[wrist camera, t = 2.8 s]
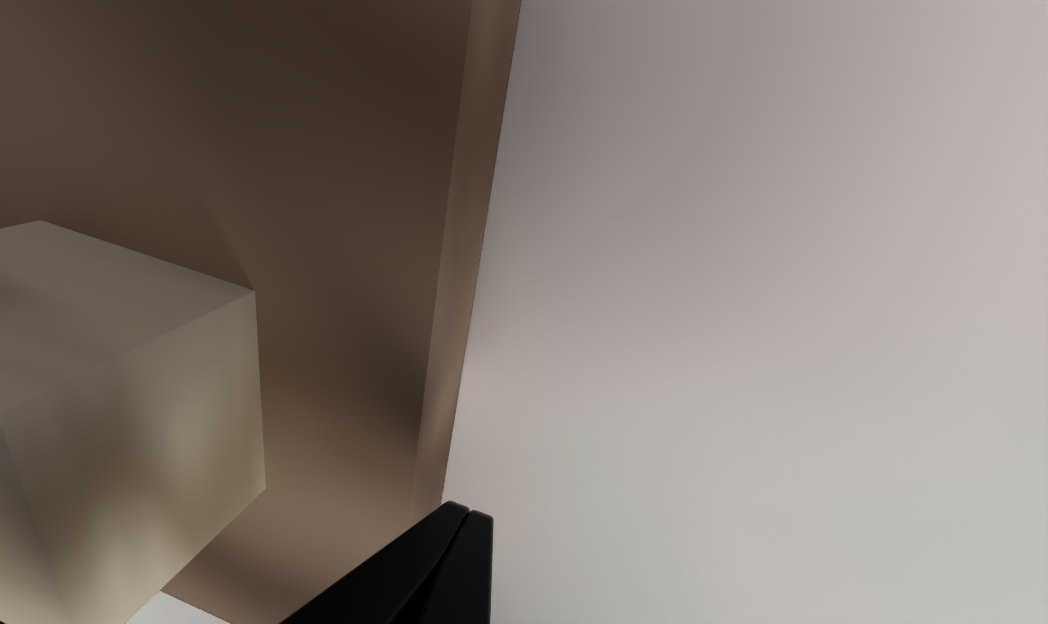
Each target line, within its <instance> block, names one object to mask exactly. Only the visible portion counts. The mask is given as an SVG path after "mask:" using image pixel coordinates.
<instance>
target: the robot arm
mask: <svg viewBox="0 0 1048 624" xmlns="http://www.w3.org/2000/svg"><path fill="white" fill-rule="evenodd" d="M492 554H493V518H492V516H490V515H487V514H485V513H482V512H479V511H477V510H472V511H470V509H469V508H468V507H466V506H464V505H461V504H458V503H456V502H453V501H447V502H445V503H444V504H443V505H441V506H440V507H438V508H437V509H436V510H434V511H433V512H431V513H430V514H429V515H427V516H426V517H425V518H423V519H422V520H420V521H419V522H418V523H416V524H415V525H414V526H412V527H411V528H409V529H408V530H407V531H405V532H404V533H403V534H401V535H400V536H398V537H397V538H396V539H394V540H393V541H391V542H390V543H389V544H387V545H386V546H385V547H383V548H382V549H380V550H379V551H378V552H376V553H375V554H374V555H372V556H371V557H369V558H368V559H367V560H365V561H364V562H363V563H361V564H360V565H358V566H357V567H356V568H354V569H353V570H351V571H350V572H349V573H347V574H346V575H345V576H343V577H342V578H340V579H339V580H338V581H336V582H335V583H334V584H332V585H331V586H329V587H328V588H327V589H325V590H324V591H323V592H321V593H320V594H318V595H317V596H316V597H314V598H313V599H311V600H310V601H309V602H307V603H306V604H305V605H303V606H302V607H300V608H299V609H298V610H296V611H295V612H294V613H292V614H291V615H289V616H288V617H287V618H285V619H284V620H282V621H281V622H280V623H278V624H490V616H491V585H492ZM0 624H6V623H4V622H2V621H0Z"/></svg>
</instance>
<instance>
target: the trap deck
mask: <svg viewBox="0 0 1048 624" xmlns="http://www.w3.org/2000/svg"><path fill="white" fill-rule="evenodd" d="M520 5H521V0H0V229H1V228H6V227H10V226H15V225H20V224H25V223H29V222H34V221H39V220H42V221H45V222H48V223H51V224H54V225H57V226H60V227H63V228H66V229H69V230H72V231H75V232H78V233H81V234H85V235H88V236H91V237H94V238H97V239H100V240H103V241H106V242H109V243H112V244H115V245H118V246H121V247H124V248H127V249H130V250H133V251H136V252H139V253H142V254H145V255H148V256H151V257H154V258H157V259H160V260H163V261H166V262H169V263H173V264H176V265H179V266H182V267H185V268H188V269H191V270H194V271H197V272H200V273H203V274H206V275H209V276H212V277H215V278H218V279H221V280H224V281H227V282H230V283H233V284H236V285H239V286H242V287H245V288H248V289H251V290H254V291H255V301H256V319H257V337H258V356H259V374H260V392H261V410H262V428H263V447H264V465H265V483H266V489H264V490H263V491H262V492H261V493H260V494H259V495H258V496H257V497H256V498H255V499H254V500H253V501H252V502H251V503H250V504H249V505H248V506H247V507H246V508H245V509H244V510H243V511H242V512H241V513H240V514H239V515H237V516H236V517H235V518H234V519H233V520H232V521H231V522H230V523H229V524H228V525H227V526H226V527H225V528H224V529H223V530H222V531H221V532H220V533H219V534H218V535H217V536H216V537H215V538H214V539H213V540H211V541H210V542H209V543H208V544H207V545H206V546H205V547H204V548H203V549H202V550H201V551H200V552H199V553H198V554H197V555H196V556H195V557H194V558H193V559H192V560H191V561H190V562H189V563H188V564H187V565H185V566H184V567H183V568H182V569H181V570H180V571H179V572H178V573H177V574H176V575H175V576H174V577H173V578H172V579H171V580H170V581H169V582H168V583H167V584H166V585H165V586H164V587H163V588H162V589H161V590H160V591H162V592H164V593H166V594H168V595H170V596H173V597H175V598H177V599H179V600H181V601H183V602H186V603H188V604H190V605H192V606H194V607H196V608H198V609H201V610H203V611H205V612H207V613H209V614H211V615H214V616H216V617H218V618H220V619H222V620H224V621H226V622H229V623H231V624H278V623H280V622H281V621H282V620H284V619H285V618H287V617H288V616H289V615H291V614H292V613H294V612H295V611H296V610H298V609H299V608H300V607H302V606H303V605H305V604H306V603H307V602H309V601H310V600H311V599H313V598H314V597H316V596H317V595H318V594H320V593H321V592H323V591H324V590H325V589H327V588H328V587H329V586H331V585H332V584H334V583H335V582H336V581H338V580H339V579H340V578H342V577H343V576H345V575H346V574H347V573H349V572H350V571H351V570H353V569H354V568H356V567H357V566H358V565H360V564H361V563H363V562H364V561H365V560H367V559H368V558H369V557H371V556H372V555H374V554H375V553H376V552H378V551H379V550H380V549H382V548H383V547H385V546H386V545H387V544H389V543H390V542H391V541H393V540H394V539H396V538H397V537H398V536H400V535H401V534H403V533H404V532H405V531H407V530H408V529H409V528H411V527H412V526H414V525H415V524H416V523H418V522H419V521H420V520H422V519H423V518H425V517H426V516H427V515H429V514H430V513H431V512H433V511H434V510H436V509H437V508H438V507H440V506H441V500H442V493H443V487H444V481H445V475H446V468H447V462H448V456H449V450H450V443H451V437H452V431H453V425H454V418H455V412H456V406H457V400H458V393H459V387H460V381H461V374H462V368H463V362H464V356H465V349H466V343H467V337H468V331H469V324H470V318H471V312H472V306H473V299H474V293H475V287H476V281H477V274H478V268H479V262H480V256H481V249H482V243H483V237H484V230H485V224H486V218H487V212H488V205H489V199H490V193H491V187H492V180H493V174H494V168H495V162H496V155H497V149H498V143H499V137H500V130H501V124H502V118H503V111H504V105H505V99H506V93H507V86H508V80H509V74H510V68H511V61H512V55H513V49H514V43H515V36H516V30H517V24H518V18H519V11H520Z"/></svg>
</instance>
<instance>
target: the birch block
mask: <svg viewBox="0 0 1048 624" xmlns="http://www.w3.org/2000/svg"><path fill="white" fill-rule="evenodd" d="M264 489H266V483H265V465H264V447H263V428H262V410H261V392H260V374H259V356H258V337H257V319H256V301H255V291H254V290H251V289H248V288H245V287H242V286H239V285H236V284H233V283H230V282H227V281H224V280H221V279H218V278H215V277H212V276H209V275H206V274H203V273H200V272H197V271H194V270H191V269H188V268H185V267H182V266H179V265H176V264H173V263H169V262H166V261H163V260H160V259H157V258H154V257H151V256H148V255H145V254H142V253H139V252H136V251H133V250H130V249H127V248H124V247H121V246H118V245H115V244H112V243H109V242H106V241H103V240H100V239H97V238H94V237H91V236H88V235H85V234H81V233H78V232H75V231H72V230H69V229H66V228H63V227H60V226H57V225H54V224H51V223H48V222H45V221H42V220H39V221H34V222H29V223H25V224H20V225H15V226H10V227H6V228H1V229H0V621H2V622H4V623H6V624H125V623H126V622H127V621H128V620H129V619H130V618H131V617H132V616H134V615H135V614H136V613H137V612H138V611H139V610H140V609H141V608H142V607H143V606H144V605H145V604H146V603H147V602H148V601H149V600H150V599H151V598H152V597H153V596H154V595H155V594H156V593H157V592H158V591H159V590H161V589H162V588H163V587H164V586H165V585H166V584H167V583H168V582H169V581H170V580H171V579H172V578H173V577H174V576H175V575H176V574H177V573H178V572H179V571H180V570H181V569H182V568H183V567H184V566H185V565H187V564H188V563H189V562H190V561H191V560H192V559H193V558H194V557H195V556H196V555H197V554H198V553H199V552H200V551H201V550H202V549H203V548H204V547H205V546H206V545H207V544H208V543H209V542H210V541H211V540H213V539H214V538H215V537H216V536H217V535H218V534H219V533H220V532H221V531H222V530H223V529H224V528H225V527H226V526H227V525H228V524H229V523H230V522H231V521H232V520H233V519H234V518H235V517H236V516H237V515H239V514H240V513H241V512H242V511H243V510H244V509H245V508H246V507H247V506H248V505H249V504H250V503H251V502H252V501H253V500H254V499H255V498H256V497H257V496H258V495H259V494H260V493H261V492H262V491H263V490H264Z"/></svg>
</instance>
